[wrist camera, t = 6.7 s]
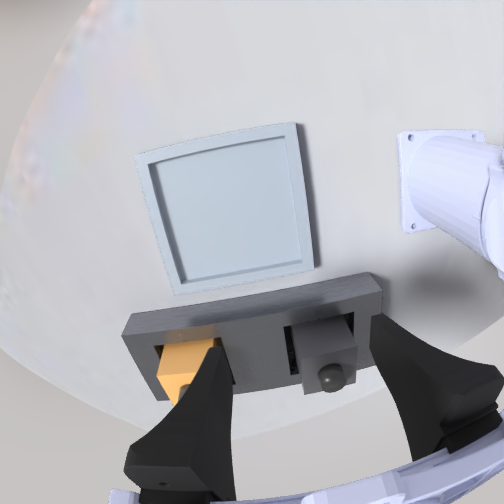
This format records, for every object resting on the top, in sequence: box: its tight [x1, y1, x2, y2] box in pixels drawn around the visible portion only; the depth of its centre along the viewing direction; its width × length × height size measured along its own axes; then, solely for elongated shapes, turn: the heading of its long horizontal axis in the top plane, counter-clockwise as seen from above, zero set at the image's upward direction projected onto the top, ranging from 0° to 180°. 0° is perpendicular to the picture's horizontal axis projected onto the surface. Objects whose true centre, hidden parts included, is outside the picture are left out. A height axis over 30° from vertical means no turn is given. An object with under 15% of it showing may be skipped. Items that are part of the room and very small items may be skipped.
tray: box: [134, 122, 314, 295], centre depth 20 cm, size 11×11×1 cm
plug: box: [157, 337, 226, 406], centre depth 22 cm, size 4×4×7 cm
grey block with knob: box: [290, 315, 358, 395], centre depth 22 cm, size 4×4×7 cm
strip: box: [121, 272, 383, 401], centre depth 24 cm, size 20×8×3 cm, turn 100°
